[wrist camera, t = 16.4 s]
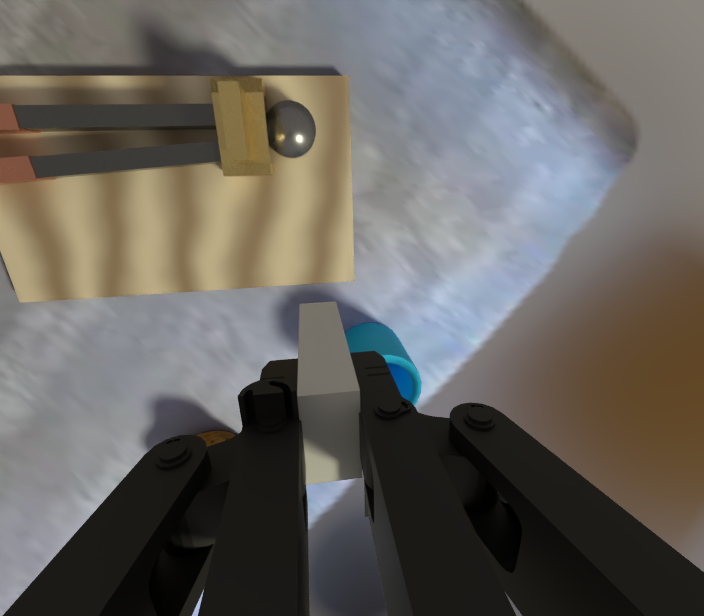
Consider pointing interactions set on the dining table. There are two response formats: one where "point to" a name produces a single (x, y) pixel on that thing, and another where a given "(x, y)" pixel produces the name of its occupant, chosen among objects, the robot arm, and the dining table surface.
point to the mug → (387, 355)
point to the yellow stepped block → (241, 126)
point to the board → (176, 199)
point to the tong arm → (107, 162)
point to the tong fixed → (158, 121)
